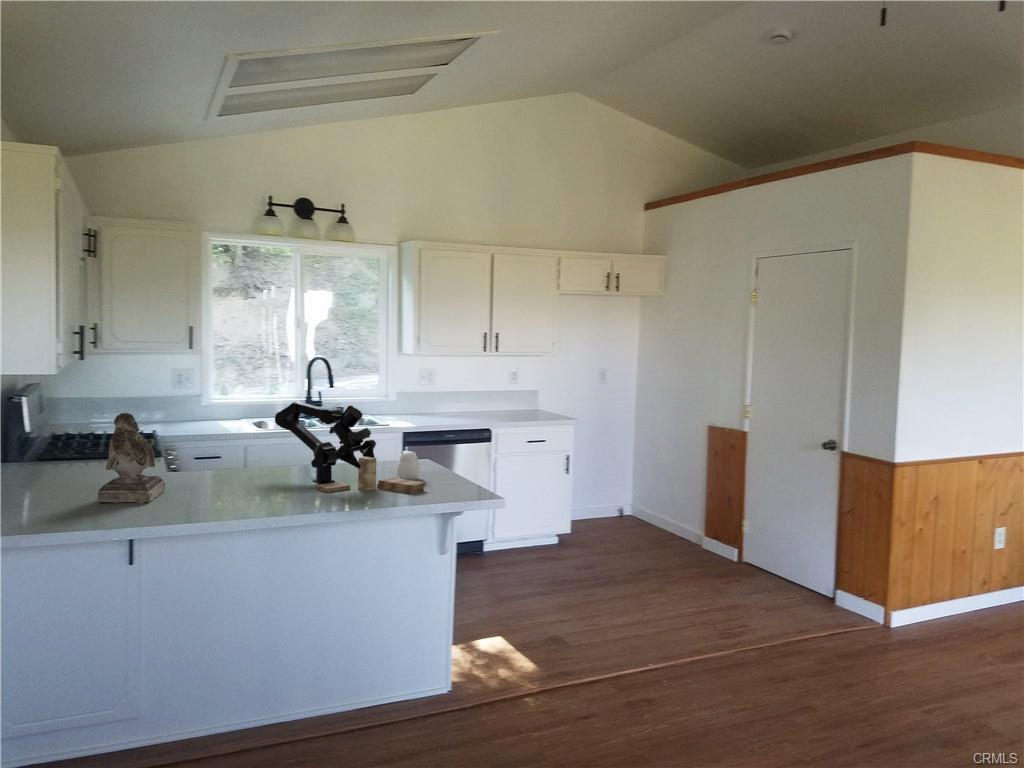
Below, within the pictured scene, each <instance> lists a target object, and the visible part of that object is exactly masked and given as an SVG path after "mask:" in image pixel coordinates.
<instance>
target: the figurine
mask: <svg viewBox="0 0 1024 768" xmlns="http://www.w3.org/2000/svg"><path fill="white" fill-rule="evenodd" d="M421 466H422V462H420V461H419V460H418V456H417V453H416V451H410V450H403V451H402V450H401V451H400V456H399V459H398V463H397V465H396V476H397V477H398V479H405V480H411V481H415V480H416V479H418V478H419V477H420V476H421V474H422V470H421V469H420V467H421Z"/></svg>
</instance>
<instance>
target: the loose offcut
mask: <svg viewBox="0 0 1024 768" xmlns="http://www.w3.org/2000/svg"><path fill="white" fill-rule="evenodd" d="M316 488H318V489H321V490H323V491H322V492H324V491H326V492H328V493H330V492H329V491H334V492H338V491H337V490H341V491H346V490H345V489H347V490H350V489H351V484H348V483H345V482H341V481H336V482H328V483H321V484H317V485H316ZM318 489H317V490H318ZM321 490H320V491H321ZM326 492H325V493H326Z"/></svg>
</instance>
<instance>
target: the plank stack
mask: <svg viewBox="0 0 1024 768" xmlns="http://www.w3.org/2000/svg"><path fill="white" fill-rule="evenodd" d="M377 481H378V483H376V489H378V488H379V489H380V490H384V489H385V491H390V490H392V491H391V492H396V491H399V492H398V493H403V492H406V493H405V494H409V493H415V494H417V493H416V492H418V493H420V492H419V491H421V492H423V491H422V490H424V489H425V488H426V482H423V481H416V480H405V479H401V478H399V477H398V478H397V477H391V476H390V477H386V478H382V479H378V480H377Z"/></svg>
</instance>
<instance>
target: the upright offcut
mask: <svg viewBox="0 0 1024 768" xmlns="http://www.w3.org/2000/svg"><path fill="white" fill-rule="evenodd" d="M358 462H359V464H360V466H361V468H360V469H358V468H357V469H358V474H357V475H358V477H357V478H358V479H357V487H358V490H361V489H362V490H361V491H367V490H370V491H373V490H376V489H377V457H375V458H373V457H364V456H362V457H359V458H358ZM372 489H373V490H372Z"/></svg>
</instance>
